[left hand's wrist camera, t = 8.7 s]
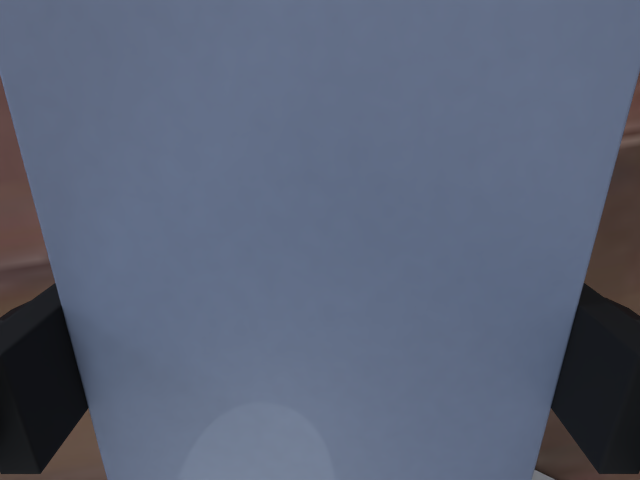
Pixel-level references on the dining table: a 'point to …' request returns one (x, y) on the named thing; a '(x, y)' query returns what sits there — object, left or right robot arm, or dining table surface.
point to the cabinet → (319, 222)
